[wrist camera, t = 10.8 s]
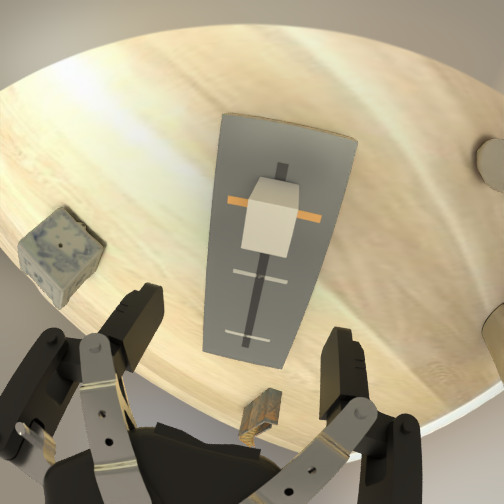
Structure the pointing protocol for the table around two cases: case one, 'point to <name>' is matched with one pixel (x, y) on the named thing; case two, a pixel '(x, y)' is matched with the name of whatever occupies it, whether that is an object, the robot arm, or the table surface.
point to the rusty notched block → (260, 416)
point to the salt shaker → (492, 163)
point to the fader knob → (271, 217)
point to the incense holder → (59, 256)
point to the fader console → (261, 264)
